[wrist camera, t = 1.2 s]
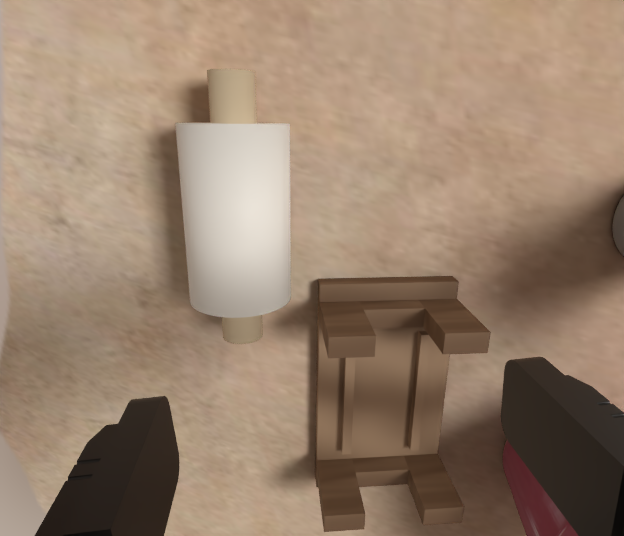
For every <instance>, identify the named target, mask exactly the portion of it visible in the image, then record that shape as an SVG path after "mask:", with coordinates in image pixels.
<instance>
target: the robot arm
mask: <svg viewBox="0 0 624 536" xmlns="http://www.w3.org/2000/svg"><path fill="white" fill-rule="evenodd" d="M501 422H502V427H503V431H504V434H505V436H506V438H507V440H508V442H509V443H510V445H511V446H512V447H513V449H514V450H515V451H516V453H517V454H518V455H519V457H520V458H521V459H522V461H523V462H524V463H525V465H526V466H527V467H528V469H529V470H530V472H531V473H532V474H533V476H534V477H535V478H536V480H537V481H538V482H539V484H540V485H541V486H542V488H543V489H544V490H545V492H546V493H547V494H548V496H549V497H550V498H551V500H552V501H553V502H554V504H555V505H556V506H557V508H558V509H559V510H560V512H561V513H562V514H563V516H564V517H565V518H566V520H567V521H568V522H569V524H570V525H571V526H572V528H573V529H574V530H575V532H576V533H577V534H578V536H624V413H623V412H622V411H621V410H620V409H618V408H617V407H616V406H615V405H614V404H610V402H609V400H608V399H606V398H605V397H604V396H603V395H601V394H600V393H599V392H598V391H597V390H595V389H594V388H593V387H592V386H590V385H587V384H585V383H583V382H581V381H579V380H577V379H575V378H573V377H571V376H569V375H566V376H565V375H564V374H562V373H561V372H560V371H559V370H558V369H557V368H555V367H554V366H553V365H552V364H551V363H550V362H548V361H547V360H546V359H545V358H543V357H533V358H524V359H514V360H509V361H508V362H507V363H506V365H505V370H504V383H503V395H502V408H501ZM178 476H179V452H178V447H177V442H176V436H175V431H174V426H173V421H172V416H171V411H170V405H169V402H168V399H167V397H165V396H161V397H151V398H142V399H133V400H131V401H130V402H129V403H128V405H127V407H126V409H125V411H124V413H123V415H122V417H121V419H120V421H119V423H118V424H113V425H106V426H105V427H104V428H103V429H102V430H101V431H100V432H98V433H97V434H96V435H95V436H94V437H93V438H92V439H91V440H90V441H89V442H88V443H87V444H86V446H85V448H84V450H83V451H82V453H81V455H80V457H79V459H78V460H77V465H75V466H74V467H73V469H72V471H71V473H70V474H69V476H68V481H65V483H64V485H63V487H62V488H61V490H60V492H59V494H58V496H57V497H56V499H55V501H54V503H53V504H52V506H51V508H50V510H49V511H48V513H47V515H46V517H45V518H44V520H43V522H42V524H41V525H40V527H39V529H38V531H37V533H36V535H35V536H164V533H165V529H166V525H167V521H168V517H169V513H170V509H171V505H172V501H173V498H174V494H175V490H176V486H177V482H178Z"/></svg>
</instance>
